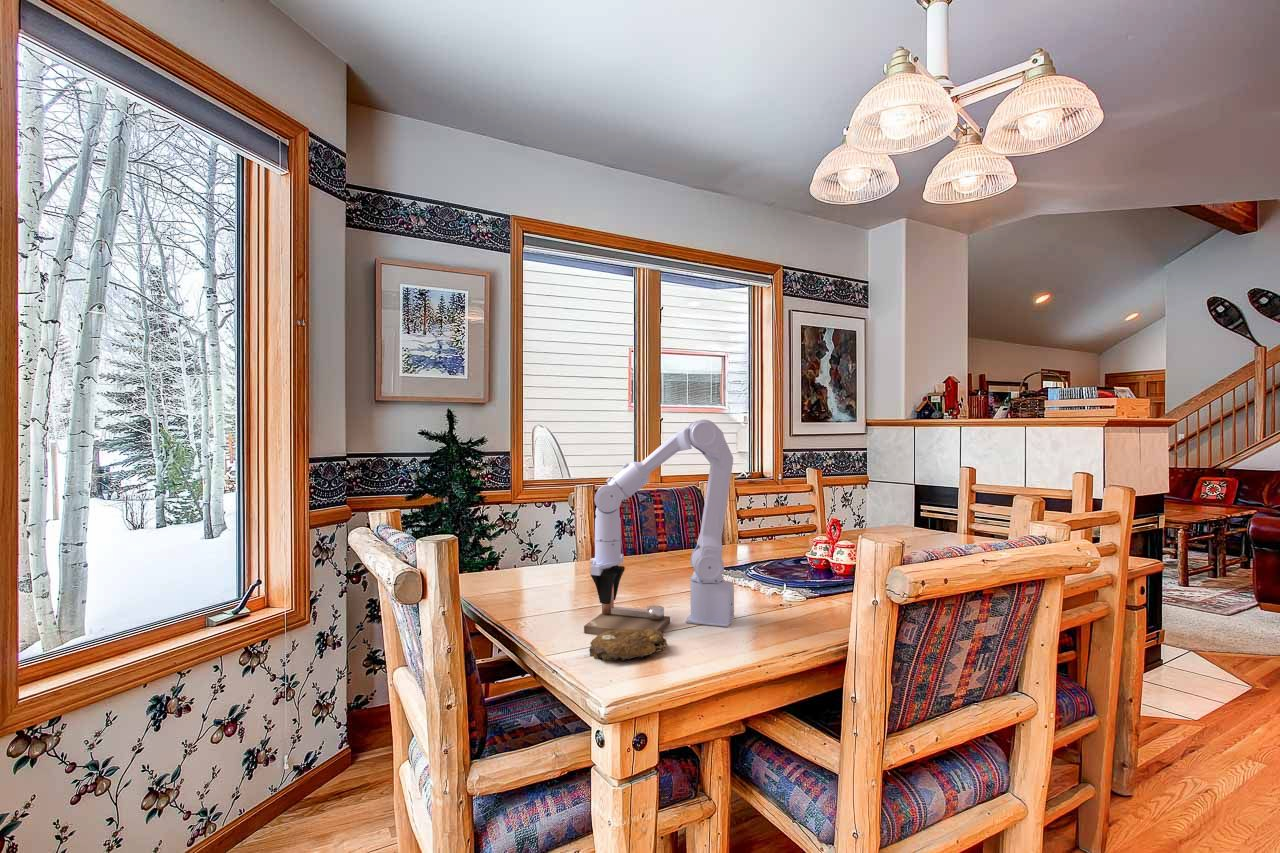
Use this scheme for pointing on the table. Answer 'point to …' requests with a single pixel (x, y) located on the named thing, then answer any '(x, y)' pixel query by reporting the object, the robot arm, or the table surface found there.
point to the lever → (633, 610)
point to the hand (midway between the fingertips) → (607, 601)
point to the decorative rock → (627, 643)
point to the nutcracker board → (623, 623)
